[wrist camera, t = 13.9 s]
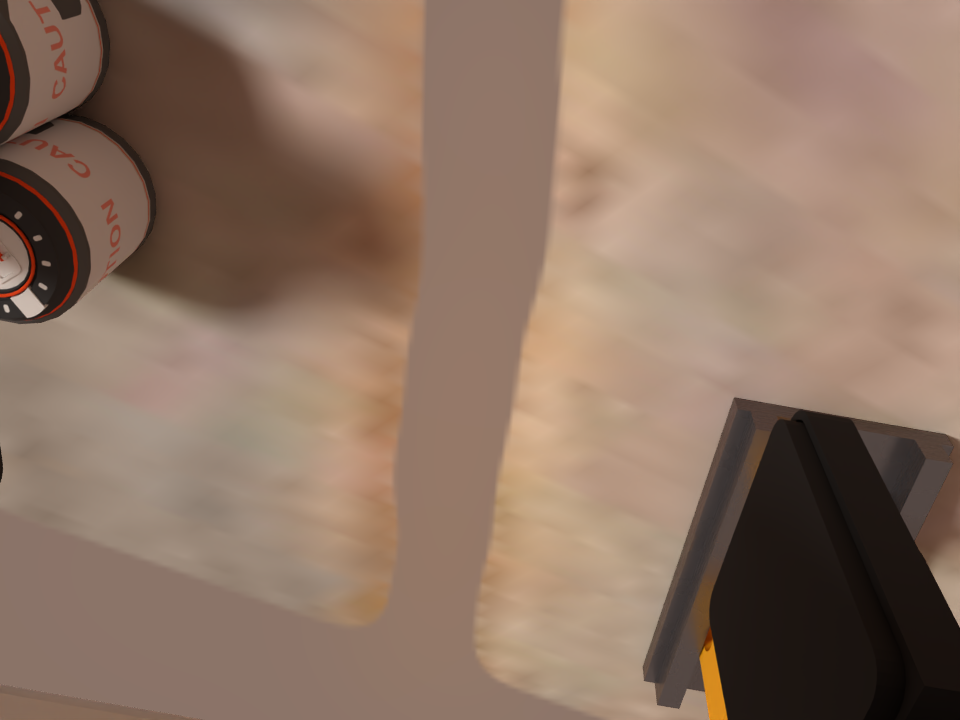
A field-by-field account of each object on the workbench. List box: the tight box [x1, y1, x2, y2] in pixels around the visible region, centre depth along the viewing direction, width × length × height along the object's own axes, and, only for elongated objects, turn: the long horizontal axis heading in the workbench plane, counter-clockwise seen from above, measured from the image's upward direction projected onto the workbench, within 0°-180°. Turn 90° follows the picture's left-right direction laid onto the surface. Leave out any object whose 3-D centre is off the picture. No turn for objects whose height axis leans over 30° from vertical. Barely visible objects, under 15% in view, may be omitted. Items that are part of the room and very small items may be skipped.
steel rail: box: [643, 398, 954, 709], centre depth 45 cm, size 10×18×2 cm, turn 171°
